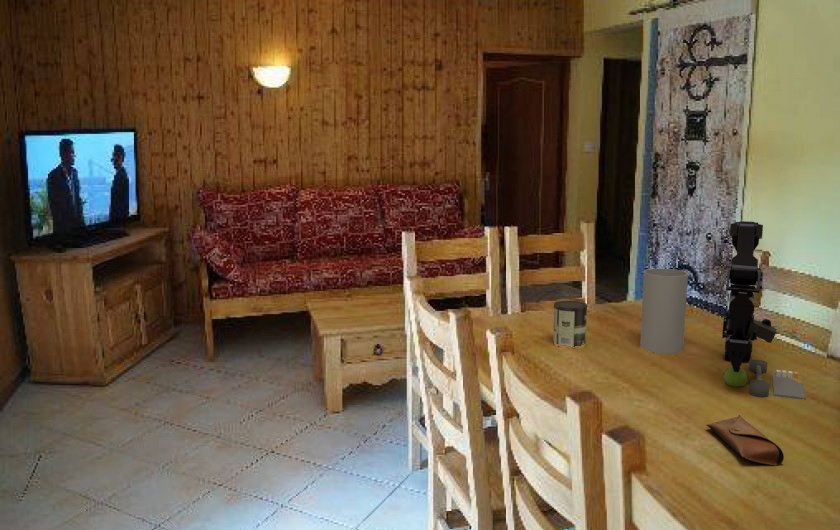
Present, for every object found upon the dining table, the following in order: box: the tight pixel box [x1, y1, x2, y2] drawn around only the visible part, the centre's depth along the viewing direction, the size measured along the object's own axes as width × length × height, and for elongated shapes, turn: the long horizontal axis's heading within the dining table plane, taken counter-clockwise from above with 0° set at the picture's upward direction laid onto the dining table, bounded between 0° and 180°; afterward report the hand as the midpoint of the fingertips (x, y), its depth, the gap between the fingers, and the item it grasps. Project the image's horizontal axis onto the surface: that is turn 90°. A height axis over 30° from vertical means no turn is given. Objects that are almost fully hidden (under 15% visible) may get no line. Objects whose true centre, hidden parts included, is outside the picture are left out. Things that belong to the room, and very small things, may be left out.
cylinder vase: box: [639, 268, 689, 355], centre depth 212 cm, size 12×12×25 cm
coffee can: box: [552, 300, 588, 347], centre depth 219 cm, size 10×10×14 cm
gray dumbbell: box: [748, 359, 770, 398], centre depth 184 cm, size 4×22×4 cm, turn 155°
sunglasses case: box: [705, 414, 785, 467], centre depth 148 cm, size 18×7×7 cm
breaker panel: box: [771, 369, 807, 401], centre depth 181 cm, size 7×18×3 cm, turn 155°
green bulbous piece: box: [723, 366, 748, 388], centre depth 183 cm, size 5×6×12 cm
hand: (736, 368), depth 183 cm, fingers closed on green bulbous piece, 5 cm apart
